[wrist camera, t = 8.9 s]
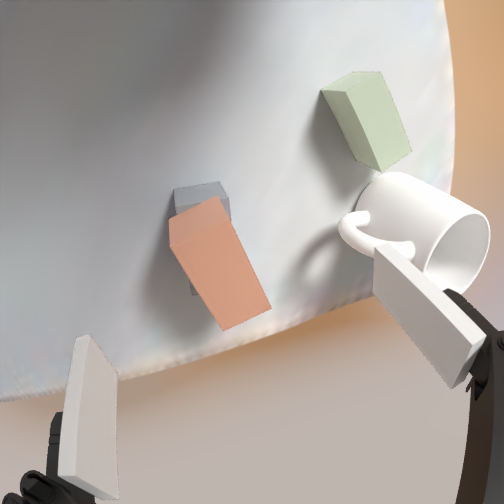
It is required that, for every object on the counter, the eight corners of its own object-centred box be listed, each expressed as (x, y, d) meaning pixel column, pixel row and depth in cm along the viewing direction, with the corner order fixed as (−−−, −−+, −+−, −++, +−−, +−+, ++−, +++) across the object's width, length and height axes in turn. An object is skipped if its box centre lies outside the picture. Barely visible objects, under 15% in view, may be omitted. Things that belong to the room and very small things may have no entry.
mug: (308, 251, 29) (366, 323, 20) (322, 162, 25) (401, 206, 16) (405, 246, 32) (468, 299, 23) (423, 173, 28) (501, 213, 19)
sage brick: (319, 89, 22) (345, 91, 19) (352, 71, 22) (380, 71, 19) (355, 160, 26) (381, 172, 23) (383, 141, 26) (412, 151, 22)
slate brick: (173, 188, 23) (175, 207, 20) (219, 181, 24) (228, 197, 21) (187, 267, 27) (192, 295, 23) (228, 260, 27) (238, 286, 24)
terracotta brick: (168, 219, 20) (170, 247, 17) (217, 194, 20) (229, 218, 17) (213, 295, 24) (223, 331, 20) (255, 275, 24) (272, 308, 21)
